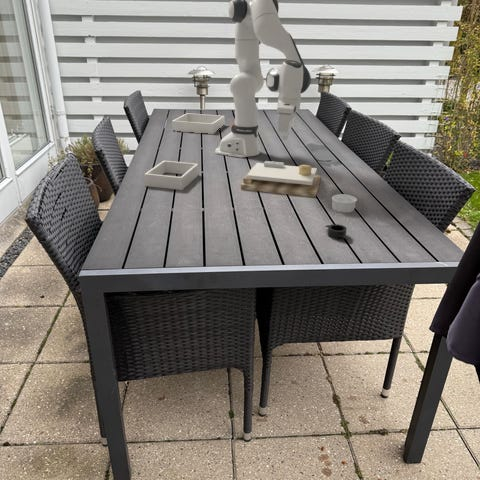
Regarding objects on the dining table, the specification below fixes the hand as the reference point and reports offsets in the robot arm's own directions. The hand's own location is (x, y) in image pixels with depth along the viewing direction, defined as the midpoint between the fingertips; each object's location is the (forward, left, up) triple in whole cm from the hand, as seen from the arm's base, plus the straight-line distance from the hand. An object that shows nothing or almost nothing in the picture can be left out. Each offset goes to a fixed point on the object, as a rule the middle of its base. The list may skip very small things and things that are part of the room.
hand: (285, 139), depth 189 cm
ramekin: (+27, -24, -18) cm, 40 cm away
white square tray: (-65, +83, -18) cm, 107 cm away
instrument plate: (+1, -4, -14) cm, 14 cm away
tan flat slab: (+1, -4, -18) cm, 18 cm away
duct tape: (+26, -48, -18) cm, 57 cm away
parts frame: (-44, -13, -18) cm, 50 cm away
